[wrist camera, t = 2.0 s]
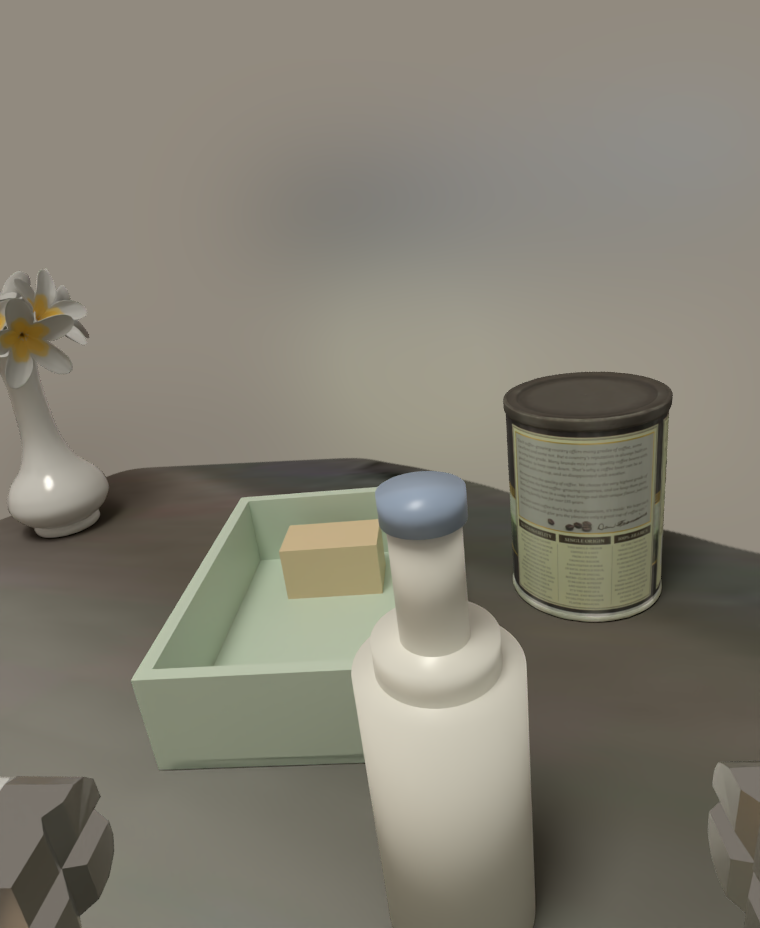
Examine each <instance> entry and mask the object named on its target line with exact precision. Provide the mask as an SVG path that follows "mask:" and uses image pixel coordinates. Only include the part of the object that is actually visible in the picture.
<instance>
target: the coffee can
mask: <svg viewBox="0 0 760 928" xmlns="http://www.w3.org/2000/svg"><path fill="white" fill-rule="evenodd" d="M672 396H673V395H672V391H671V389H670V388H669V387H668V386H667V385H665V384H664V383H662V382H660V381H657V380H654V379H651V378H647V377H644V376H639V375H633V374H625V373H615V372H578V373H566V374H559V375H552V376H547V377H541V378H537V379H534V380H531V381H528V382H525V383H522V384H520V385H518V386H516V387H514V388H512V389H510V390H509V391H508V392H507V393H506V394H505V396H504V399H503V404H504V411H505V413H506V425H507V445H508V467H509V483H510V505H511V527H512V551H513V568H514V573H513V583H514V586H515V589H516V591H517V592H518V594H519V595H520V596H521V598H522V599H523V600H525V601H526V602H527V603H528V604H530V605H531V606H533V607H534V608H536V609H538V610H540V611H542V612H545V613H547V614H550V615H553V616H556V617H560V618H563V619H567V620H577V621H583V622H604V621H613V620H619V619H623V618H628V617H631V616H633V615H635V614H638V613H641V612H642V611H644V610H646V609H648V608H649V607H650V606H651V605H653V604H654V603H655V602H656V600H657V599H658V597H659V595H660V594H661V589H662V583H661V562H662V542H663V521H664V499H665V482H666V464H667V441H668V421H669V420H668V419H669V409H670V407H671V405H672Z"/></svg>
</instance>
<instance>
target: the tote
mask: <svg viewBox="0 0 760 928" xmlns="http://www.w3.org/2000/svg"><path fill="white" fill-rule="evenodd" d="M377 488H378V487H374V488H361V489H348V490H335V491H322V492H309V493H297V494H284V495H271V496H258V497H245V498H241V499H240V501H239V502H238V504H237V506H236V507H235V509H234V511H233V512H232V514H231V516H230V517H229V519H228V521H227V522H226V524H225V525H224V527H223V529H222V530H221V532H220V534H219V535H218V537H217V539H216V540H215V542H214V544H213V545H212V547H211V549H210V550H209V552H208V554H207V555H206V557H205V559H204V560H203V562H202V564H201V565H200V567H199V569H198V570H197V572H196V574H195V575H194V577H193V578H192V580H191V582H190V583H189V585H188V587H187V588H186V590H185V592H184V593H183V595H182V597H181V598H180V600H179V602H178V603H177V605H176V607H175V608H174V610H173V612H172V613H171V615H170V617H169V618H168V620H167V622H166V623H165V625H164V627H163V628H162V630H161V631H160V633H159V635H158V636H157V638H156V640H155V641H154V643H153V645H152V646H151V648H150V650H149V651H148V653H147V655H146V656H145V658H144V660H143V661H142V663H141V665H140V666H139V668H138V670H137V671H136V673H135V675H134V676H133V678H132V680H131V683H132V686H133V689H134V692H135V696H136V699H137V702H138V705H139V708H140V711H141V715H142V718H143V721H144V724H145V727H146V730H147V734H148V737H149V740H150V743H151V746H152V749H153V753H154V756H155V759H156V762H157V765H158V768H159V770H174V769H202V768H231V767H259V766H287V765H316V764H344V763H365V758H364V752H363V746H362V740H361V734H360V727H359V721H358V715H357V709H356V703H355V696H354V690H353V684H352V677H351V669H352V664H353V660H354V657H355V655H356V653H357V651H358V650H359V648H360V647H361V645H362V644H363V643H364V642H365V641H366V640H367V639H368V638H369V637H370V636H371V632H372V630H373V628H374V626H375V624H376V623H377V622H378V621H379V619H380V618H381V617H382V616H384V615H385V614H386V613H387V612H389V611H390V610H392V609H394V608H396V607H395V599H394V591H393V583H392V575H391V567H390V559H389V551H388V543H387V535H386V533H385V532H383V531H382V530H381V531H382V539H383V547H384V554H385V562H386V567H385V577H384V586H383V593H382V594H365V595H349V596H333V597H316V598H300V599H288V596H287V590H286V585H285V580H284V575H283V570H282V565H281V560H280V554H279V550H280V548H281V546H282V543H283V541H284V538H285V536H286V533H287V531H288V528H289V526H291V525H304V524H318V523H332V522H346V521H359V520H373V519H378V514H377V506H376V499H375V491H376V489H377Z"/></svg>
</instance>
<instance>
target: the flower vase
mask: <svg viewBox="0 0 760 928" xmlns="http://www.w3.org/2000/svg"><path fill="white" fill-rule="evenodd" d="M86 315H87V310H86V308H85V307H84V306H83V305H82V304H80V303H79V302H76V301H72V300H70V295H69V293H68V290H67V289H66V287H65V286H63V285H61V286H59V288H58V289H57V291H56V287H55V284H54V281H53V279H52V277H51V276H50V274H49V272H48V270H47V269H46V268H45V270H40V271H39V272H38V275H37V282H36V292H34V291H33V289H32V288H31V287H30V278H29V276H28V275H27V274H26V273H24V272H16V273H14V274H12V275H11V276H10V277H9V278H8V279H7V281H6V282H5V284H4V287H3V290H2V293H1V291H0V375H1V377H2V379H3V381H4V383H5V386H6V388H7V391H8V394H9V397H10V400H11V404H12V407H13V411H14V414H15V417H16V421H17V424H18V428H19V432H20V437H21V442H22V461H21V467H20V470H19V473H18V474H17V476H16V478H15V479H14V481H13V483H12V484H11V486H10V489H9V492H8V498H7V507H8V511H9V513H10V514H11V515H12V516H13V518H14V519H16V520H17V521H18V522H20V523H22V524H24V525H26V526H30V527H33V528H34V530H35V532H36V533H37V534H38V535H39V536H41V537H45V538H55V537H62V536H67V535H71V534H74V533H77V532H79V531H82V530H84V529H86V528H88V527H90V526H91V525H93V524H94V523H95V522H96V521H97V520H98V519H99V517H100V511H99V508H100V507H101V506H102V504H103V503H104V501H105V499H106V497H107V494H108V491H109V484H108V480H107V478H106V476H105V475H104V473H103V472H102V471H101V470H100V469H99V468H98V467H96V466H95V465H94V464H92V463H90V462H89V461H87V460H85V459H83V458H81V457H79V456H78V455H77V454H76V453H75V452H74V451H73V450H72V449H71V448H70V447H69V446H68V445H67V443H66V442H65V440H64V439H63V437H62V436H61V434H60V432H59V430H58V428H57V425H56V423H55V421H54V418H53V415H52V412H51V410H50V407H49V404H48V401H47V399H46V396H45V393H44V390H43V387H42V384H41V380H40V376H39V372H38V366H37V363H38V364H40V365H41V366H42V367H44V368H45V369H47V370H49V371H51V372H54V373H57V374H68V373H70V372H71V370H72V363H71V360H70V359H69V357H68V356H67V355H66V354H65V353H64V352H63V351H62V350H60V349H59V348H58V347H56V346H55V345H53V344H52V343H50V342H49V341H54V340H58V339H60V338H62V337H63V336H66V337H68V338H69V339H71V340H73V341H75V342H77V343H79V344H81V345H86V344H87V340H86V338H89V334H88V332H87V331H86V329H85V328H84V327H83V325H82V324H81V323H80V322H79V321H78V319H82V318H83V317H85V316H86ZM6 325H7V326H8V329H7V327H6ZM85 337H86V338H85ZM47 340H49V341H47Z"/></svg>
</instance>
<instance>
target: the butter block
mask: <svg viewBox="0 0 760 928" xmlns="http://www.w3.org/2000/svg"><path fill="white" fill-rule="evenodd" d="M279 554H280V560H281V565H282V570H283V575H284V580H285V585H286V590H287V596H288V599H300V598H316V597H333V596H349V595H365V594H382V593H383V586H384V577H385V567H386V562H385V554H384V547H383V539H382V531H381V528H380V527H379V522H378V519H373V520H359V521H346V522H332V523H318V524H304V525H291V526H289V528H288V531H287V533H286V536H285V538H284V541H283V543H282V546H281V548H280V550H279Z"/></svg>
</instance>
